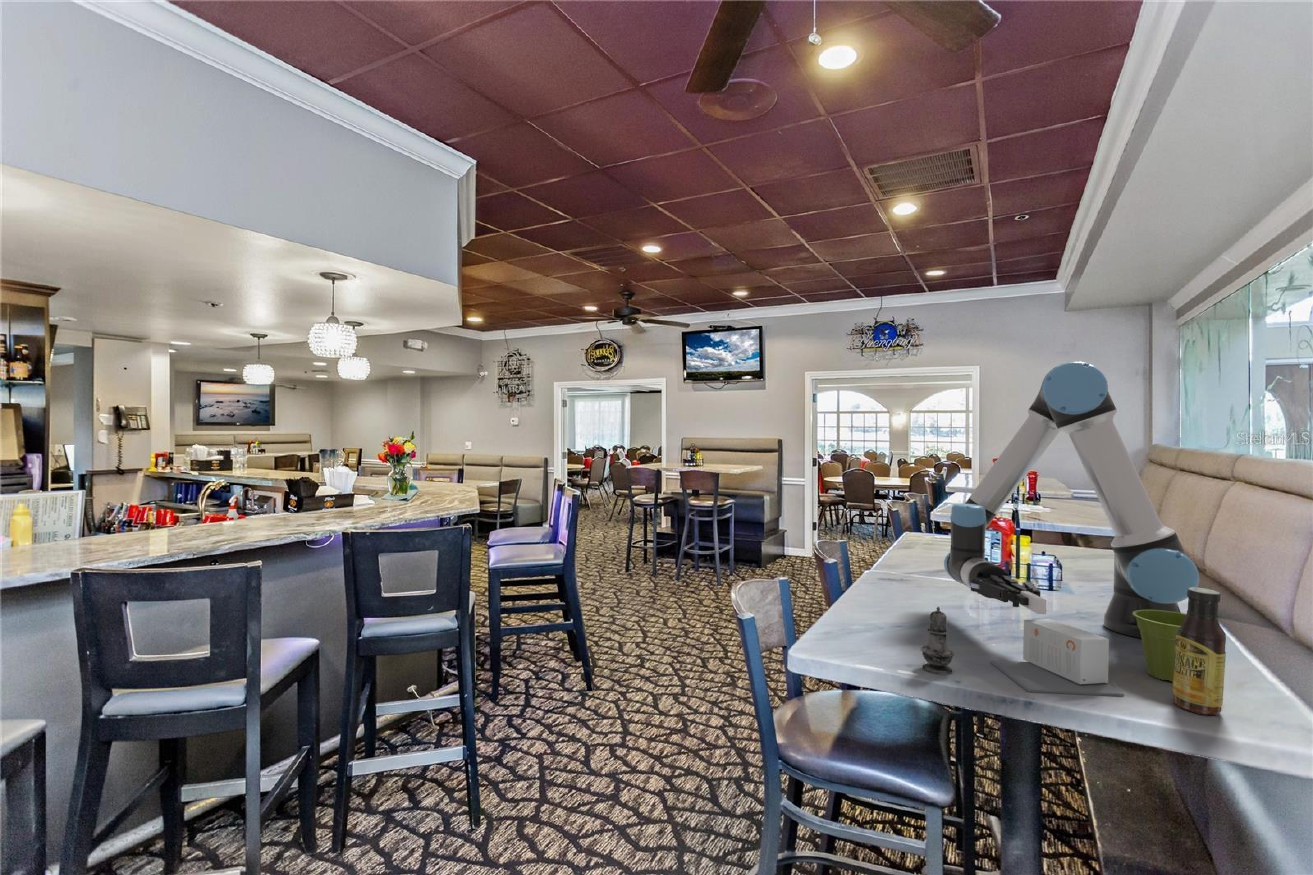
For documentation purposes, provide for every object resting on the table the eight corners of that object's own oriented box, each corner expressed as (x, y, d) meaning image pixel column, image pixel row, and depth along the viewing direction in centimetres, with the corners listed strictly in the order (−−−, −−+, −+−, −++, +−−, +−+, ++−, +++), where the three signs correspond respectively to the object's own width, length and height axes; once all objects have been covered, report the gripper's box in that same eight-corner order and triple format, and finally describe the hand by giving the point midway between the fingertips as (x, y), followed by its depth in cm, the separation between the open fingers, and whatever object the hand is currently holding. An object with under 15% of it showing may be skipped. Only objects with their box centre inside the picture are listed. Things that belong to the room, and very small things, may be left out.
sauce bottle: (1162, 701, 104) (1164, 584, 104) (1196, 700, 105) (1198, 584, 105) (1199, 718, 98) (1202, 594, 97) (1235, 718, 98) (1238, 594, 98)
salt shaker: (958, 676, 113) (959, 612, 113) (924, 673, 114) (925, 609, 114) (949, 665, 119) (950, 603, 119) (917, 662, 120) (918, 601, 120)
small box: (1049, 658, 123) (1109, 683, 110) (1021, 659, 121) (1079, 685, 109) (1050, 617, 123) (1110, 638, 110) (1023, 618, 121) (1080, 640, 109)
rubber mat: (1074, 665, 120) (1074, 663, 120) (1124, 696, 106) (1124, 694, 106) (989, 662, 121) (990, 660, 121) (1027, 691, 107) (1027, 689, 107)
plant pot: (1158, 663, 122) (1159, 606, 122) (1230, 686, 111) (1231, 624, 111) (1116, 669, 118) (1117, 611, 118) (1186, 694, 107) (1187, 630, 107)
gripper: (1014, 595, 139) (1077, 628, 115) (955, 593, 140) (1005, 625, 116) (1015, 562, 139) (1078, 588, 115) (956, 560, 140) (1006, 585, 116)
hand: (1042, 606), depth 116 cm, fingers closed
